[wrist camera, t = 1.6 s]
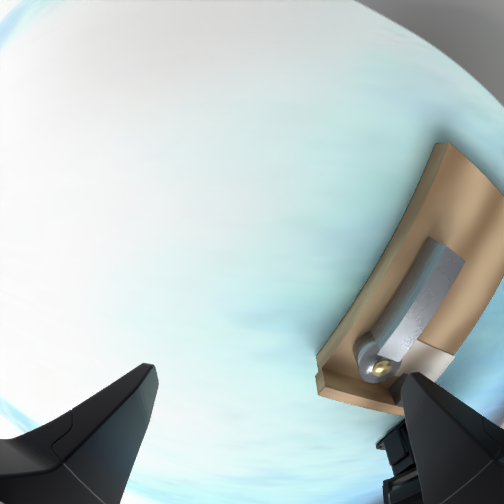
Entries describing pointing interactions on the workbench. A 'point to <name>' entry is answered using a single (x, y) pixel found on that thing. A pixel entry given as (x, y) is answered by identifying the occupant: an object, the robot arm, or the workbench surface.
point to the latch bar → (407, 312)
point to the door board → (397, 267)
